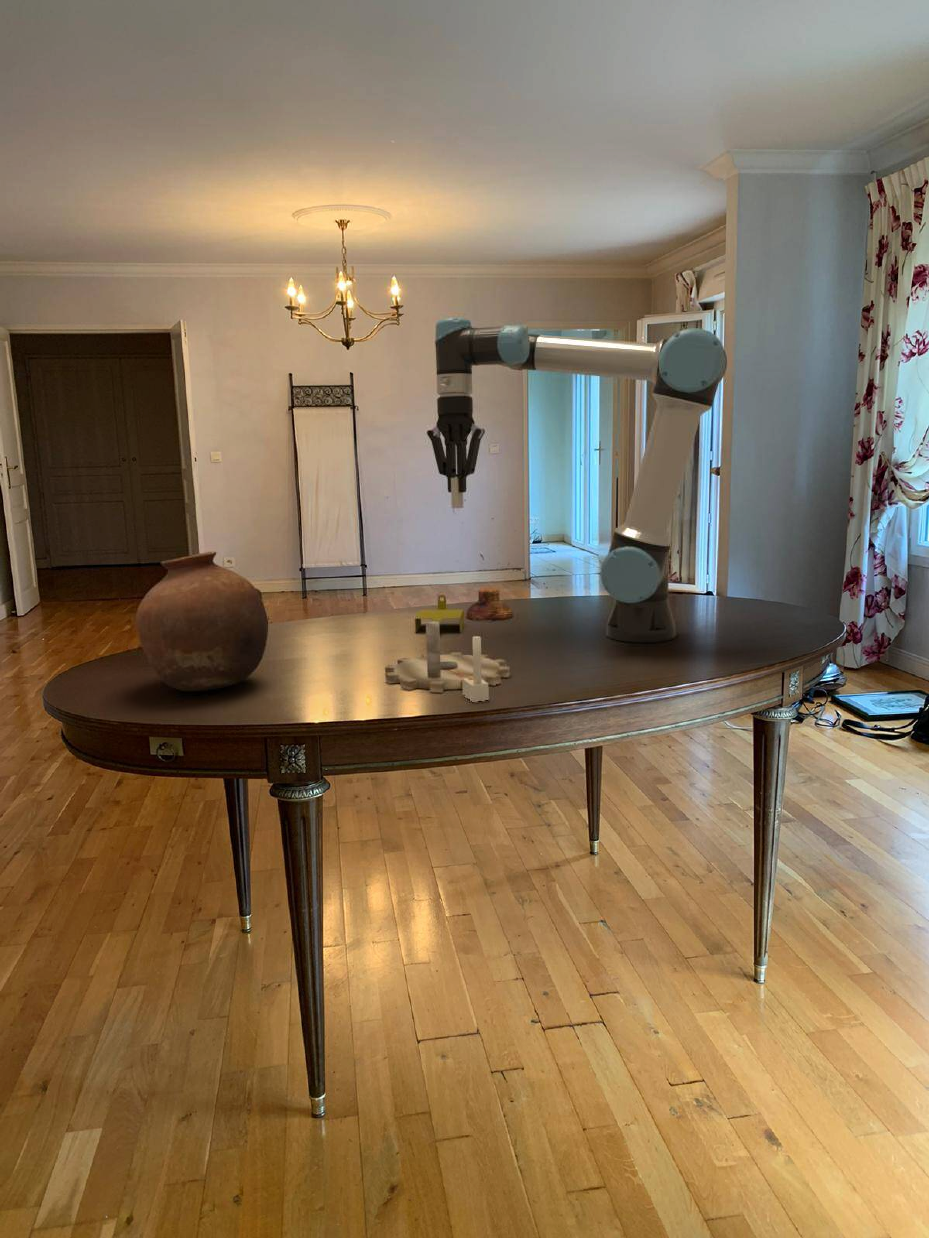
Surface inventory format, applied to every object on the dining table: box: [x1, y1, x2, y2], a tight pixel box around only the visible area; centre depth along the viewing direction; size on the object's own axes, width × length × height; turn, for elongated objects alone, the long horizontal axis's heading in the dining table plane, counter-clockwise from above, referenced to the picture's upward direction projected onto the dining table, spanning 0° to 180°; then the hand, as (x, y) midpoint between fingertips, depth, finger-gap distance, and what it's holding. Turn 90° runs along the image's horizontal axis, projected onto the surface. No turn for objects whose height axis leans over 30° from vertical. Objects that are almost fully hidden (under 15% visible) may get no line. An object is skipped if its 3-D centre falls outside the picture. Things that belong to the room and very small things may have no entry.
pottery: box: [135, 550, 269, 692], centre depth 160 cm, size 23×23×25 cm
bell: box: [465, 588, 514, 621], centre depth 220 cm, size 12×12×7 cm
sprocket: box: [384, 621, 511, 693], centre depth 165 cm, size 23×23×12 cm
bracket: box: [414, 594, 465, 634], centre depth 206 cm, size 16×8×15 cm
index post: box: [462, 635, 490, 703], centre depth 150 cm, size 5×3×11 cm, turn 19°
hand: (457, 507), depth 190 cm, fingers closed
